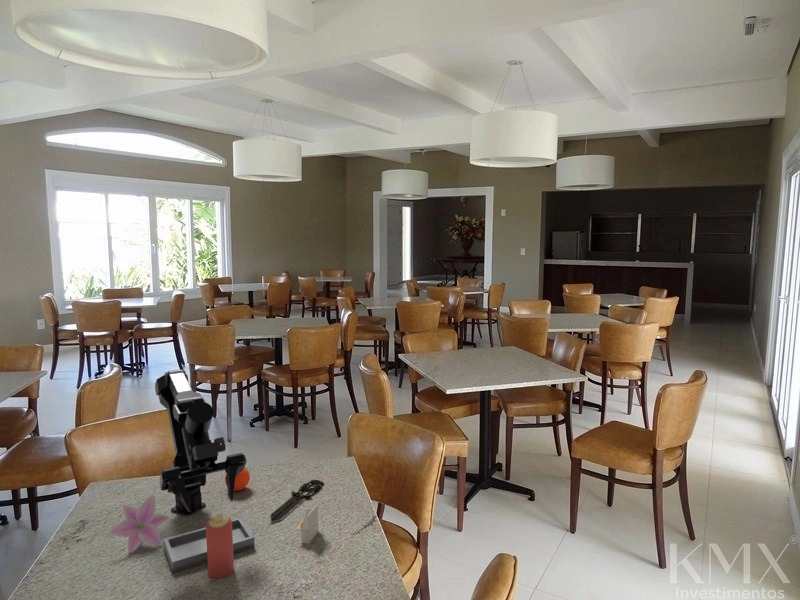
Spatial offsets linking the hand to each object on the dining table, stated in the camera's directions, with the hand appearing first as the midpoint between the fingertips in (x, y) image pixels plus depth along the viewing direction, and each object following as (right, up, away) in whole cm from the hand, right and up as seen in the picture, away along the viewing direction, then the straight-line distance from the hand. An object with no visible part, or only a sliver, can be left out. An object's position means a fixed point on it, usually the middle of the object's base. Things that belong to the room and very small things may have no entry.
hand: (211, 505), depth 123 cm
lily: (-19, -12, +8) cm, 24 cm away
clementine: (-4, -9, +36) cm, 37 cm away
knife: (+14, -10, +27) cm, 32 cm away
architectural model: (+21, -12, +10) cm, 26 cm away
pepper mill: (+3, -13, -4) cm, 14 cm away
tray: (-2, -12, +5) cm, 13 cm away
